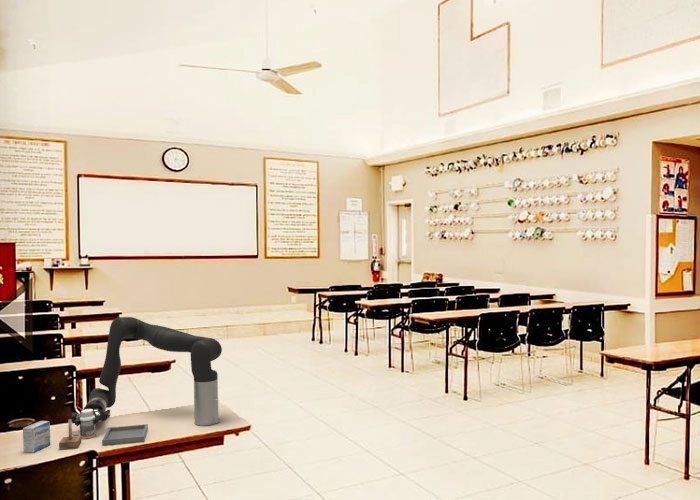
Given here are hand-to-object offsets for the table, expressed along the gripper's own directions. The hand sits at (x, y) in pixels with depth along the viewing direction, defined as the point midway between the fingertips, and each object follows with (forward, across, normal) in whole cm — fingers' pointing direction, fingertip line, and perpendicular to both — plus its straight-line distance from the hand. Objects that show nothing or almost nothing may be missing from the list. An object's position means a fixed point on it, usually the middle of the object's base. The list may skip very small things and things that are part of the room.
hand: (86, 422), depth 204 cm
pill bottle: (-3, 0, +6) cm, 7 cm away
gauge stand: (+6, -4, +6) cm, 10 cm away
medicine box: (+5, -15, +6) cm, 17 cm away
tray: (+2, +14, +6) cm, 15 cm away
